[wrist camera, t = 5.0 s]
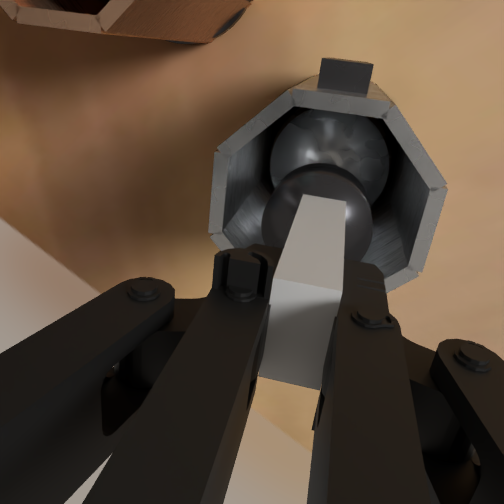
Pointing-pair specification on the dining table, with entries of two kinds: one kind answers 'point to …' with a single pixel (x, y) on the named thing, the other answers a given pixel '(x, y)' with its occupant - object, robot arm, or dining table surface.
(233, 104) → the dining table surface
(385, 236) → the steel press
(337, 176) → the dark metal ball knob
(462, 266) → the dining table surface
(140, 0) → the copper press
